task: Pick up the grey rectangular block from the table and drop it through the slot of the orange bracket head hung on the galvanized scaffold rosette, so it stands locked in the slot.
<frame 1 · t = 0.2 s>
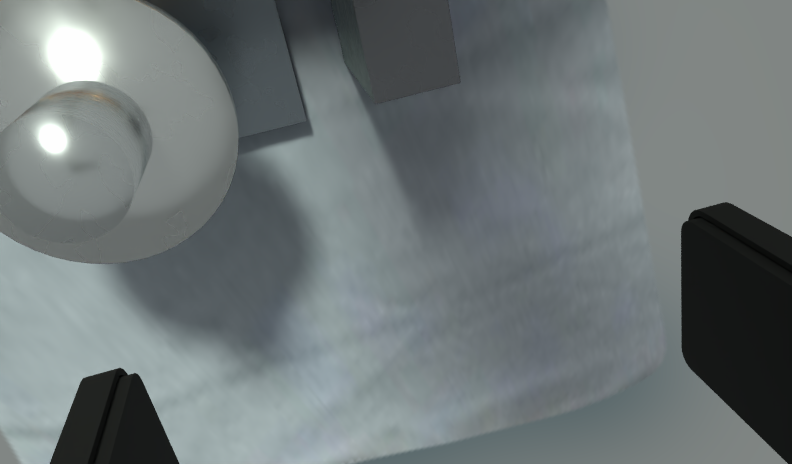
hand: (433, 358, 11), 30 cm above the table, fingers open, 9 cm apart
ringlock standard: (99, 13, 35), on the table
grey rectangular block: (369, 10, 38), on the table
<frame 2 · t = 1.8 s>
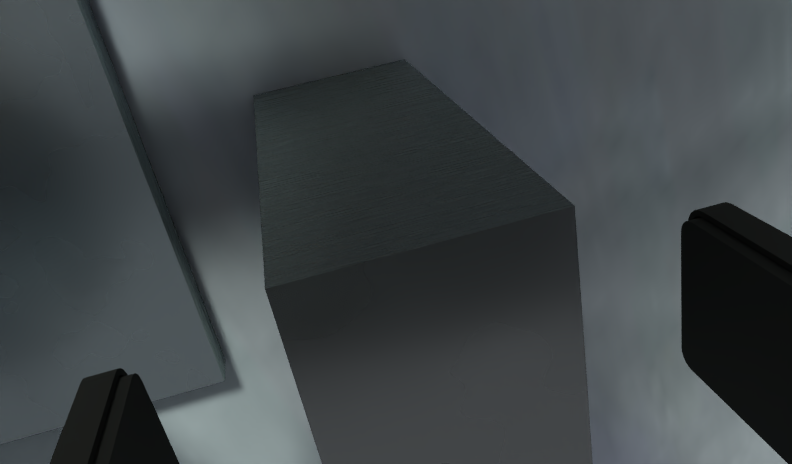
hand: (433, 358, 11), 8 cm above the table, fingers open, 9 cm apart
grey rectangular block: (350, 166, 18), on the table
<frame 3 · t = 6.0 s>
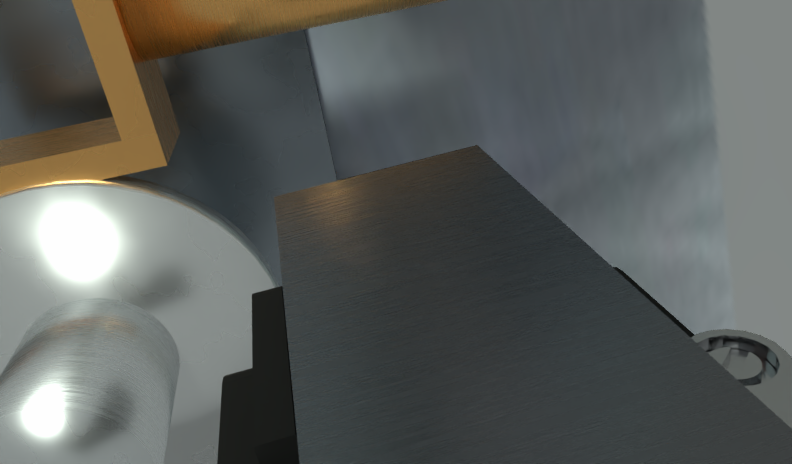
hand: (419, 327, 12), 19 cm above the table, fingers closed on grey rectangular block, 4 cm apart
ringlock standard: (113, 160, 28), on the table
grey rectangular block: (401, 282, 14), point 17 cm above the table, touching gripper
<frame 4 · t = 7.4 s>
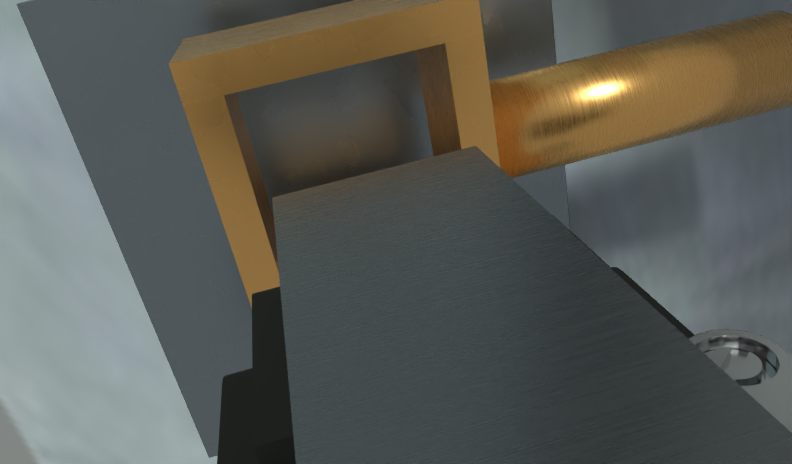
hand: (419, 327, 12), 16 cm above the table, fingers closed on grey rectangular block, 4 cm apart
ringlock standard: (360, 244, 28), on the table
grey rectangular block: (400, 283, 14), point 14 cm above the table, touching gripper
when the fingers open (12 cm above the table, at t = 8.6 s): grey rectangular block drops 9 cm, resting on ringlock standard.
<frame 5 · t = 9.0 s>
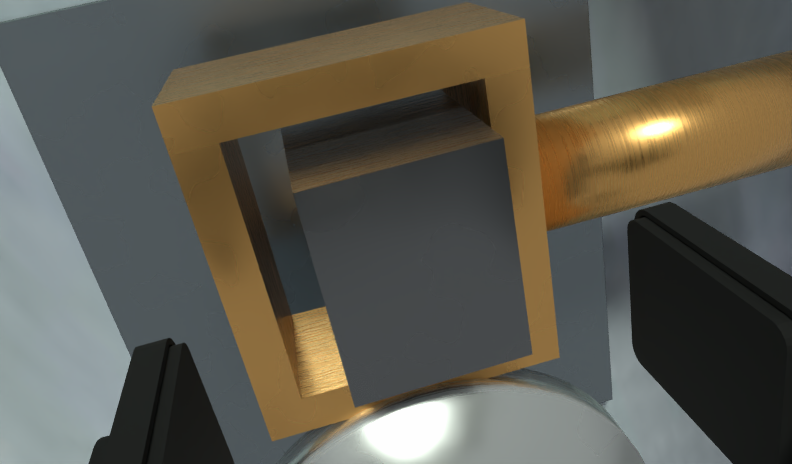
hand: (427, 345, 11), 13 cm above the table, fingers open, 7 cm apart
ringlock standard: (373, 288, 26), on the table
grey rectangular block: (351, 143, 22), point 1 cm above the table, touching ringlock standard
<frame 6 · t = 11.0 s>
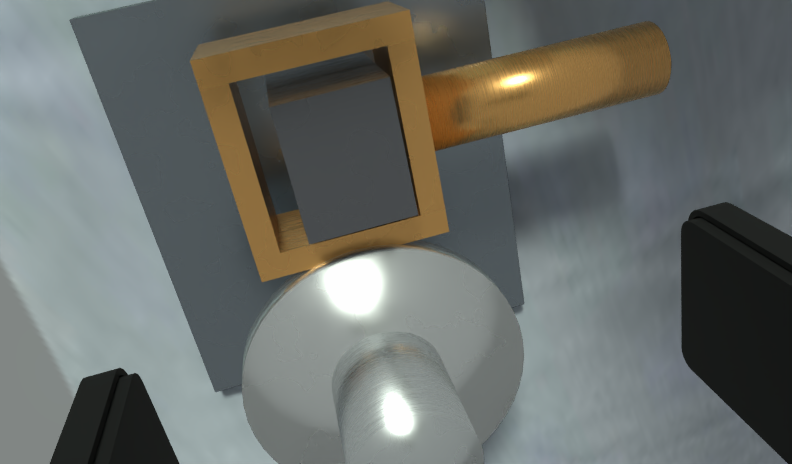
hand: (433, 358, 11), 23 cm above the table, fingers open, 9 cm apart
ringlock standard: (338, 212, 35), on the table
grey rectangular block: (319, 101, 31), point 1 cm above the table, touching ringlock standard
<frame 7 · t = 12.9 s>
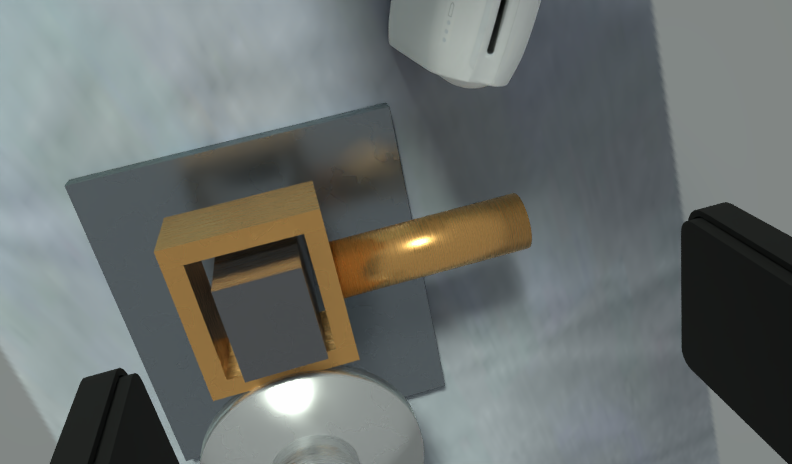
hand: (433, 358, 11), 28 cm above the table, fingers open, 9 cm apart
ringlock standard: (286, 317, 42), on the table
grey rectangular block: (266, 237, 39), point 1 cm above the table, touching ringlock standard
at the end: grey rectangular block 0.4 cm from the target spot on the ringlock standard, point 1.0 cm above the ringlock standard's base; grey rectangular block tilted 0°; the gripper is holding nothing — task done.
